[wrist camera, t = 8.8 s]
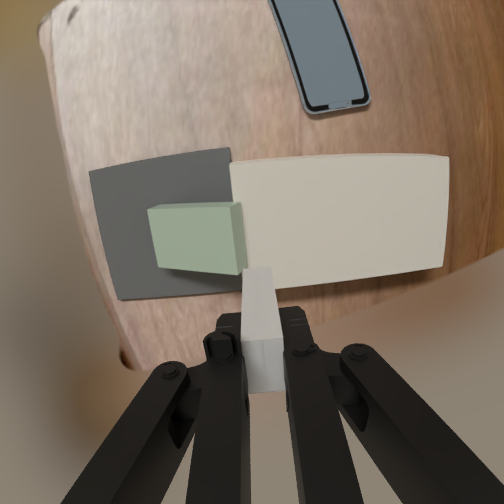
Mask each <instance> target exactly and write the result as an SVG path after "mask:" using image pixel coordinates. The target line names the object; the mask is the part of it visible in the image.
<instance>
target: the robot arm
mask: <svg viewBox="0 0 504 504" xmlns="http://www.w3.org/2000/svg"><path fill="white" fill-rule="evenodd" d="M203 345H204V349H205V353H206V358H207V360H206V362H204V363H202V364H200V365H197V366H194V367H190V368H186V366H185V365H184V364H183V363H181V362H178V361H169V362H165V363H162V364H160V365H159V366H157V367H156V368H155V369H154V371H153V372H152V373H151V375H150V376H149V378H148V379H147V380H146V382H145V383H144V385H143V386H142V387H141V389H140V391H139V392H138V393H137V395H136V396H135V397H134V399H133V400H132V402H131V403H130V404H129V406H128V407H127V409H126V410H125V411H124V413H123V414H122V416H121V417H120V419H119V420H118V421H117V423H116V424H115V426H114V427H113V429H112V430H111V431H110V433H109V435H108V436H107V437H106V439H105V440H104V441H103V443H102V444H101V446H100V447H99V449H98V450H97V451H96V453H95V454H94V456H93V457H92V459H91V460H90V462H89V463H88V464H87V466H86V467H85V469H84V470H83V472H82V473H81V474H80V476H79V477H78V479H77V480H76V482H75V483H74V485H73V486H72V488H71V489H70V491H69V492H68V494H67V495H66V496H65V498H64V499H63V501H62V502H61V504H161V502H162V500H163V498H164V496H165V493H166V491H167V490H168V488H169V485H170V484H171V482H172V479H173V477H174V475H175V473H176V471H177V469H178V467H179V465H180V463H181V461H182V459H183V457H184V454H185V452H186V450H187V448H188V446H189V444H190V442H191V440H192V438H193V436H194V433H195V437H194V444H193V451H192V458H191V465H190V473H189V480H188V488H187V495H186V504H251V474H250V473H251V472H250V413H249V412H250V410H249V397H248V393H249V394H252V393H264V392H275V391H285V390H286V404H287V412H288V417H289V424H290V432H291V440H292V448H293V456H294V464H295V472H296V480H297V489H298V497H299V504H364V502H363V498H362V494H361V490H360V487H359V483H358V479H357V475H356V472H355V468H354V464H353V461H352V457H351V453H350V450H349V446H348V442H347V439H346V435H345V432H344V429H343V425H342V421H341V418H340V414H339V411H340V412H341V414H342V415H343V417H344V418H345V420H346V421H347V423H348V424H349V426H350V427H351V429H352V430H353V432H354V433H355V435H356V436H357V438H358V439H359V441H360V442H361V443H362V445H363V447H364V448H365V449H366V451H367V452H368V454H369V455H370V457H371V458H372V459H373V461H374V463H375V464H376V466H377V467H378V468H379V470H380V471H381V473H382V474H383V476H384V477H385V479H386V480H387V482H388V483H389V484H390V486H391V487H392V489H393V490H394V492H395V493H396V495H397V496H398V497H399V499H400V500H401V502H402V503H403V504H504V485H503V484H502V483H501V482H500V481H499V480H498V479H497V478H496V477H495V475H494V474H493V473H492V472H491V471H490V470H489V469H488V468H487V467H486V466H485V464H484V463H483V462H482V461H481V460H480V459H479V458H478V457H477V456H476V455H475V454H474V453H473V452H472V450H470V448H469V447H468V446H467V445H466V444H465V443H464V442H463V441H462V440H461V439H460V438H459V437H458V436H457V435H456V433H455V432H453V430H452V429H451V428H450V427H449V426H448V425H447V424H446V423H445V422H444V421H443V420H442V419H441V418H440V417H439V416H438V415H437V414H436V412H435V411H434V410H433V409H432V408H431V407H430V406H429V405H428V404H427V403H426V402H425V401H424V400H423V399H422V398H421V397H420V396H419V395H418V394H417V393H416V392H415V391H414V390H413V389H412V388H411V387H410V386H409V384H407V382H406V381H405V380H404V379H403V378H402V377H401V376H400V375H399V374H398V373H397V372H396V371H395V370H394V369H393V368H392V367H391V366H390V365H389V364H388V363H387V362H386V361H385V360H384V359H383V358H382V357H381V356H380V355H379V354H378V353H377V352H376V351H375V350H374V349H373V348H372V347H370V346H368V345H365V344H357V343H356V344H351V345H348V346H346V347H344V349H343V350H342V351H341V353H329V352H325V351H322V350H321V349H319V347H318V345H317V344H315V343H314V341H313V337H312V334H311V331H310V327H309V324H308V321H307V318H306V315H305V311H304V310H302V309H301V308H300V307H299V306H293V307H283V308H278V305H277V299H276V293H275V287H274V282H273V276H272V270H271V266H267V267H256V268H246V269H243V283H242V312H238V313H226V314H222V315H221V316H220V317H219V318H218V319H217V323H216V330H215V331H214V332H212V333H209V334H208V335H207V336H206V337H205V338H204V340H203ZM338 410H339V411H338Z"/></svg>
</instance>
